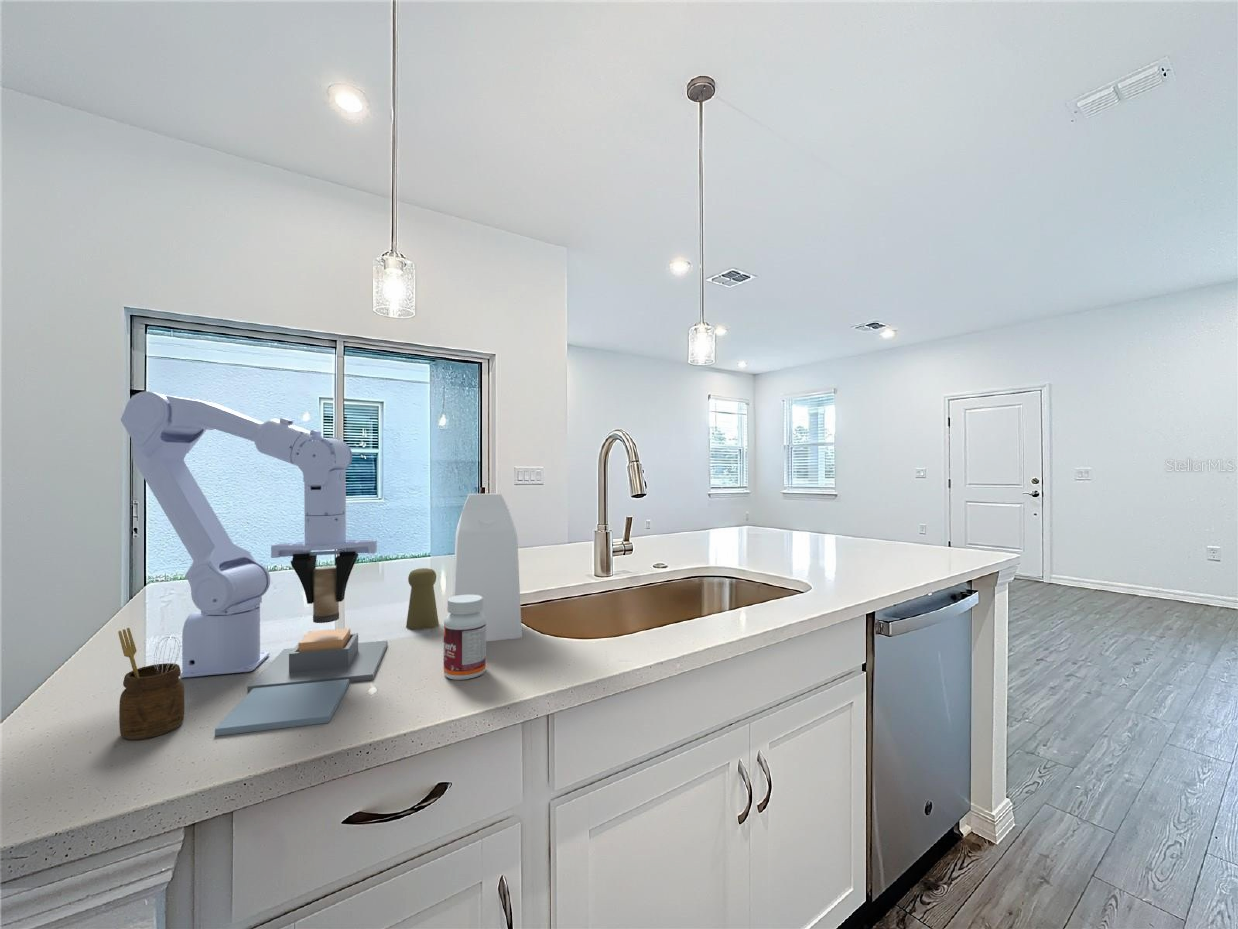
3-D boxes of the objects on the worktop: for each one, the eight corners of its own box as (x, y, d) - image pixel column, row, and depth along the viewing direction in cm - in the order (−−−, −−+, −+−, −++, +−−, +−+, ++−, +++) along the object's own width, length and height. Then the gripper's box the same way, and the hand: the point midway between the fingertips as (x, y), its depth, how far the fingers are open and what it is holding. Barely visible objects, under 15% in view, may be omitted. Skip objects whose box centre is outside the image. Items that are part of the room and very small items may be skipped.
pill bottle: (436, 672, 83) (436, 598, 83) (473, 662, 87) (473, 591, 87) (455, 684, 79) (455, 605, 79) (493, 673, 83) (493, 598, 83)
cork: (428, 630, 104) (428, 572, 104) (399, 628, 105) (399, 571, 105) (444, 621, 110) (444, 566, 110) (417, 620, 111) (417, 565, 111)
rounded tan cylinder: (310, 623, 84) (309, 571, 84) (316, 617, 87) (316, 567, 87) (336, 621, 85) (335, 570, 85) (341, 615, 88) (341, 565, 88)
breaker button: (298, 656, 82) (298, 643, 82) (309, 643, 88) (309, 631, 88) (342, 652, 84) (342, 639, 84) (350, 640, 90) (350, 628, 90)
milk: (513, 620, 111) (513, 491, 111) (521, 637, 100) (521, 494, 100) (451, 626, 107) (451, 492, 107) (452, 644, 96) (452, 496, 96)
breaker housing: (247, 692, 76) (247, 666, 76) (284, 653, 92) (284, 632, 92) (372, 679, 80) (372, 655, 80) (387, 645, 96) (387, 624, 96)
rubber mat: (214, 735, 64) (214, 729, 64) (253, 694, 75) (253, 688, 75) (329, 722, 67) (329, 716, 67) (349, 684, 79) (349, 679, 79)
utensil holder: (161, 740, 63) (160, 635, 63) (102, 743, 62) (101, 637, 62) (196, 716, 69) (196, 620, 69) (142, 719, 68) (142, 622, 68)
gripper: (263, 518, 80) (264, 611, 80) (371, 515, 84) (372, 604, 84) (279, 514, 87) (279, 599, 87) (378, 511, 91) (379, 593, 91)
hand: (326, 601), depth 86 cm, fingers closed on rounded tan cylinder, 3 cm apart
